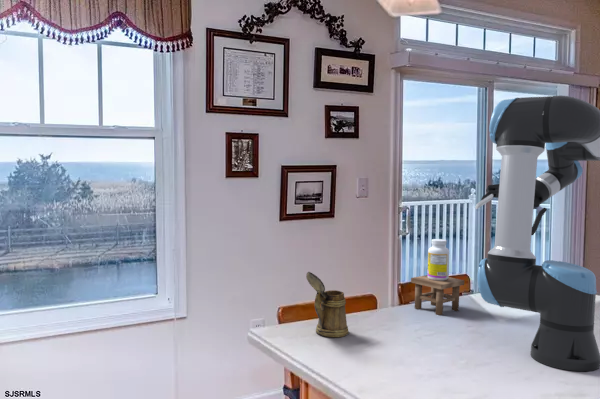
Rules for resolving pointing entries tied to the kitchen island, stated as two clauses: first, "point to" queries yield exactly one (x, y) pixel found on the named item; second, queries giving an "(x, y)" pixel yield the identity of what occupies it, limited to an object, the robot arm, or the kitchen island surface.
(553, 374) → the kitchen island surface
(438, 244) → the supplement bottle
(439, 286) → the stool
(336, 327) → the wooden mug
